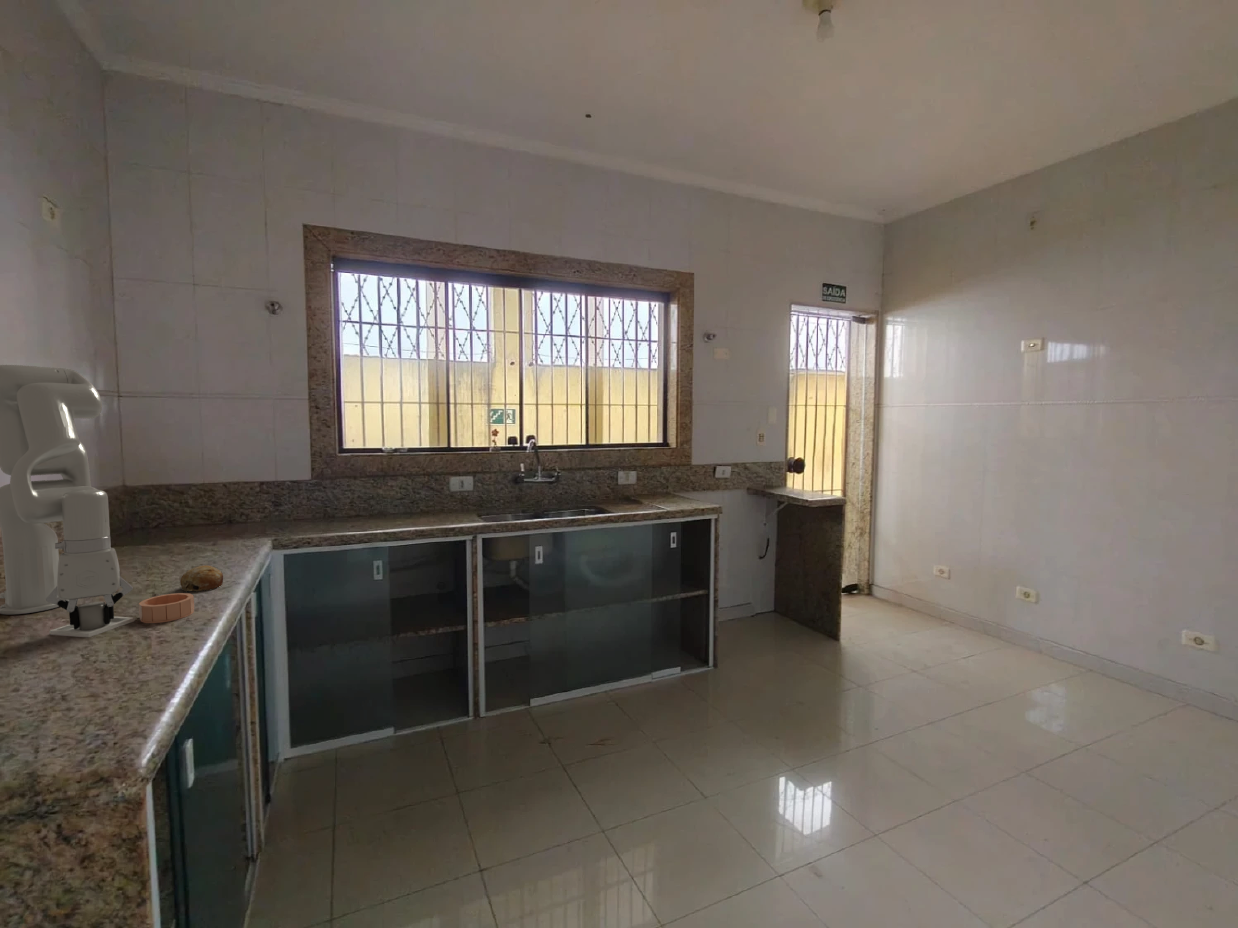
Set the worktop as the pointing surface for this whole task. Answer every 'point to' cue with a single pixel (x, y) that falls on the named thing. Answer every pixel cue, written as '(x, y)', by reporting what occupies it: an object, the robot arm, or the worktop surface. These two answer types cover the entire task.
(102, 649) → the worktop surface
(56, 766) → the worktop surface
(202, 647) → the worktop surface
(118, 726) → the worktop surface
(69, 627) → the parts tray
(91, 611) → the grey cylinder
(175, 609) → the bowl
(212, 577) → the bread roll
